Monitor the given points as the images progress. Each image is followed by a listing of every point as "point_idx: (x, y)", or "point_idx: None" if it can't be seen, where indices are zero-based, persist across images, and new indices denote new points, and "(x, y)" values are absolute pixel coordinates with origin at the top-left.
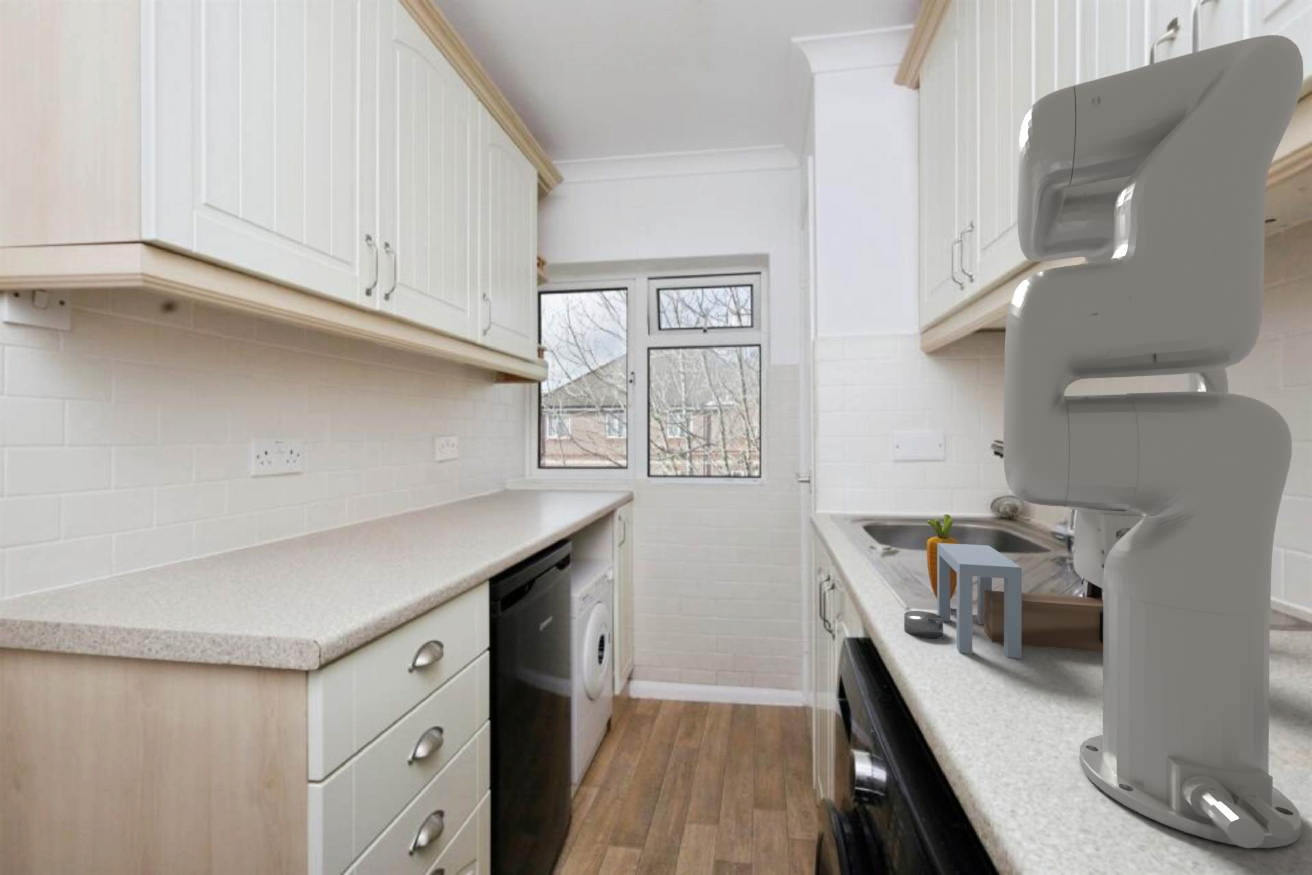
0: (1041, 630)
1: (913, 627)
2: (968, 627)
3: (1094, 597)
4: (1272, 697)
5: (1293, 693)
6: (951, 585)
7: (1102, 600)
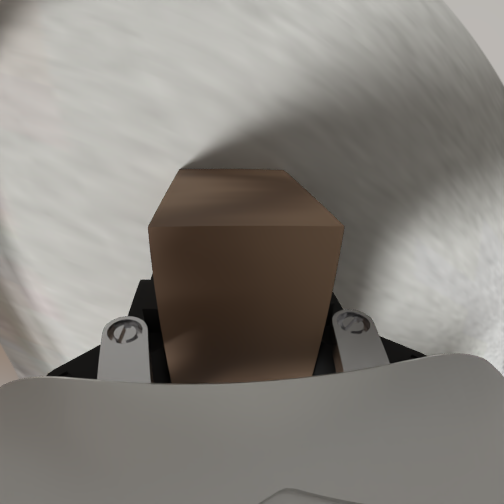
0: None
1: None
2: None
3: (161, 380)
4: (472, 76)
5: (447, 14)
6: None
7: (208, 373)
